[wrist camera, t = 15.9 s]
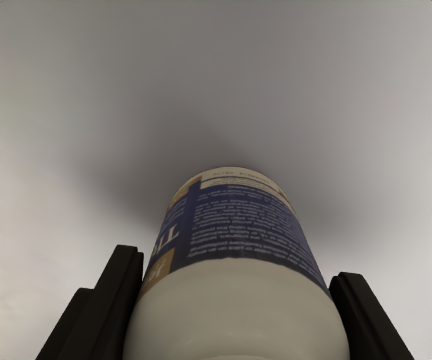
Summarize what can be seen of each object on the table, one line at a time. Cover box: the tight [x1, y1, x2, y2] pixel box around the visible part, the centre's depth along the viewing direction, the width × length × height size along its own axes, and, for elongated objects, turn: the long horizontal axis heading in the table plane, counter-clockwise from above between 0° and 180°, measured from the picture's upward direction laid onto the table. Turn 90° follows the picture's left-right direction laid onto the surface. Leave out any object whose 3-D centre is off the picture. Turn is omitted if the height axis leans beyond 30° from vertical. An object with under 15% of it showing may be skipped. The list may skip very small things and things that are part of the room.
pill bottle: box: [122, 167, 350, 360], centre depth 10 cm, size 5×5×10 cm
